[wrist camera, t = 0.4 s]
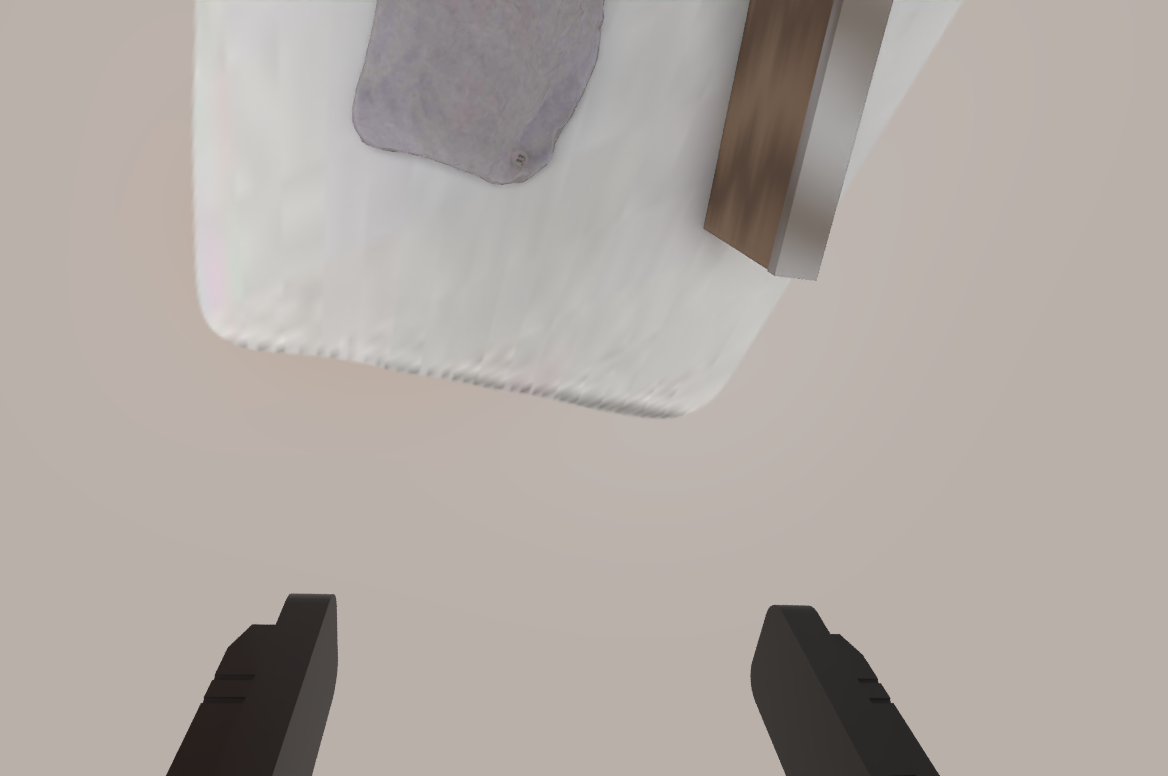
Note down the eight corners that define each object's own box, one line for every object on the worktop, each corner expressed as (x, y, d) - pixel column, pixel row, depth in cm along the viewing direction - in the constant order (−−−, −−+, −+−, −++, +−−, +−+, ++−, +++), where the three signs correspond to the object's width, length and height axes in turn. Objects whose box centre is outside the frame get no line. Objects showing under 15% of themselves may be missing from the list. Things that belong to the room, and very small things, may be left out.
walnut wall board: (794, -234, 30) (943, -399, 20) (832, -225, 30) (998, -383, 20) (701, 228, 37) (774, 275, 27) (732, 232, 37) (816, 280, 28)
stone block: (606, -46, 33) (399, -146, 29) (641, -54, 29) (408, -170, 25) (532, 190, 38) (344, 133, 34) (554, 213, 34) (344, 150, 30)
